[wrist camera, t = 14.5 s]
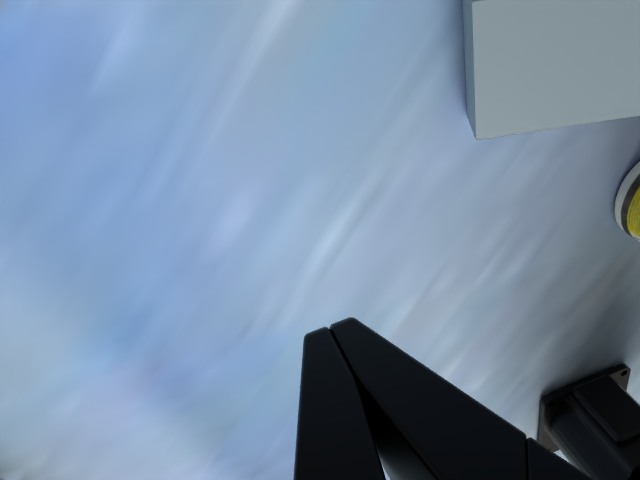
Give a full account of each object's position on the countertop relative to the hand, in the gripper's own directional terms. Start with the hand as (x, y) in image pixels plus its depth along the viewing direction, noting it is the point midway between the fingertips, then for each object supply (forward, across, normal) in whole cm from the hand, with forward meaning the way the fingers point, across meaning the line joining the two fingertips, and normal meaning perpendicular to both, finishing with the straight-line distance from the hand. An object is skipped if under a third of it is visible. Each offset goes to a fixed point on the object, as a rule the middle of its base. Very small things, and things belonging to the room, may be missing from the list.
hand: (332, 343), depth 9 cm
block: (+12, -9, +1) cm, 15 cm away
